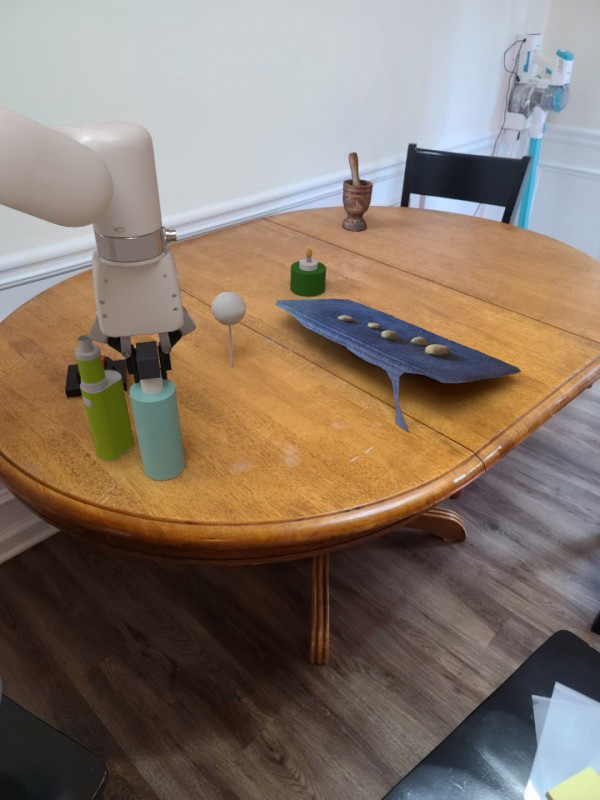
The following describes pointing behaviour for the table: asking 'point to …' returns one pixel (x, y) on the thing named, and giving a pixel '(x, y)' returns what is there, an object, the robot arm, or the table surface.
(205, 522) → the table surface
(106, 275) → the robot arm
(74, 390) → the button box
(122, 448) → the vape
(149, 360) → the spray bottle
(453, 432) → the table surface
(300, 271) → the candle
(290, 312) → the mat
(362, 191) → the mortar and pestle
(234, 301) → the lollipop
